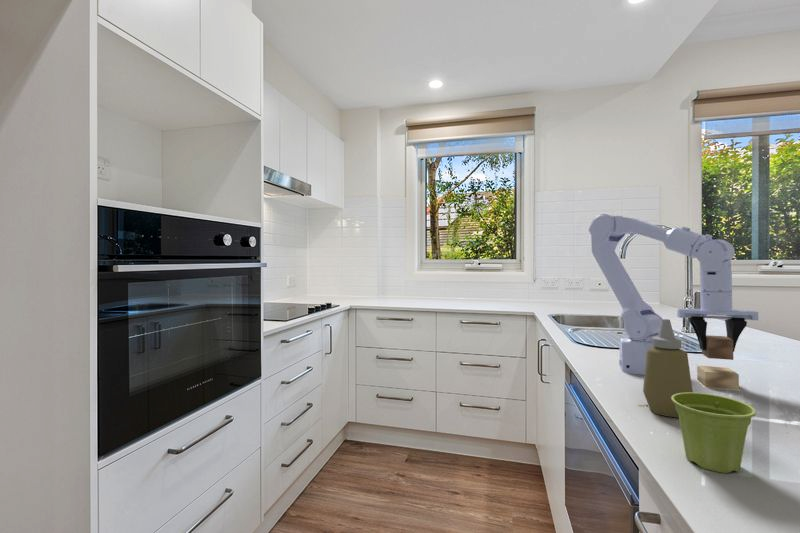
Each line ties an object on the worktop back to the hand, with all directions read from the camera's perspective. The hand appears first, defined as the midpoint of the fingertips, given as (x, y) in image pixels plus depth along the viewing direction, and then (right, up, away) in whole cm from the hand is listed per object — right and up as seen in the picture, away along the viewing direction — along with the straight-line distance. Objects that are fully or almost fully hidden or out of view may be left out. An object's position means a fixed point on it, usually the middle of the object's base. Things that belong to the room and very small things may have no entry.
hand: (716, 349), depth 88 cm
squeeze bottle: (-22, -9, -14) cm, 28 cm away
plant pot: (-28, -9, -33) cm, 45 cm away
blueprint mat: (0, -9, 0) cm, 9 cm away
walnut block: (0, -2, 0) cm, 2 cm away
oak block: (0, -8, 0) cm, 8 cm away
